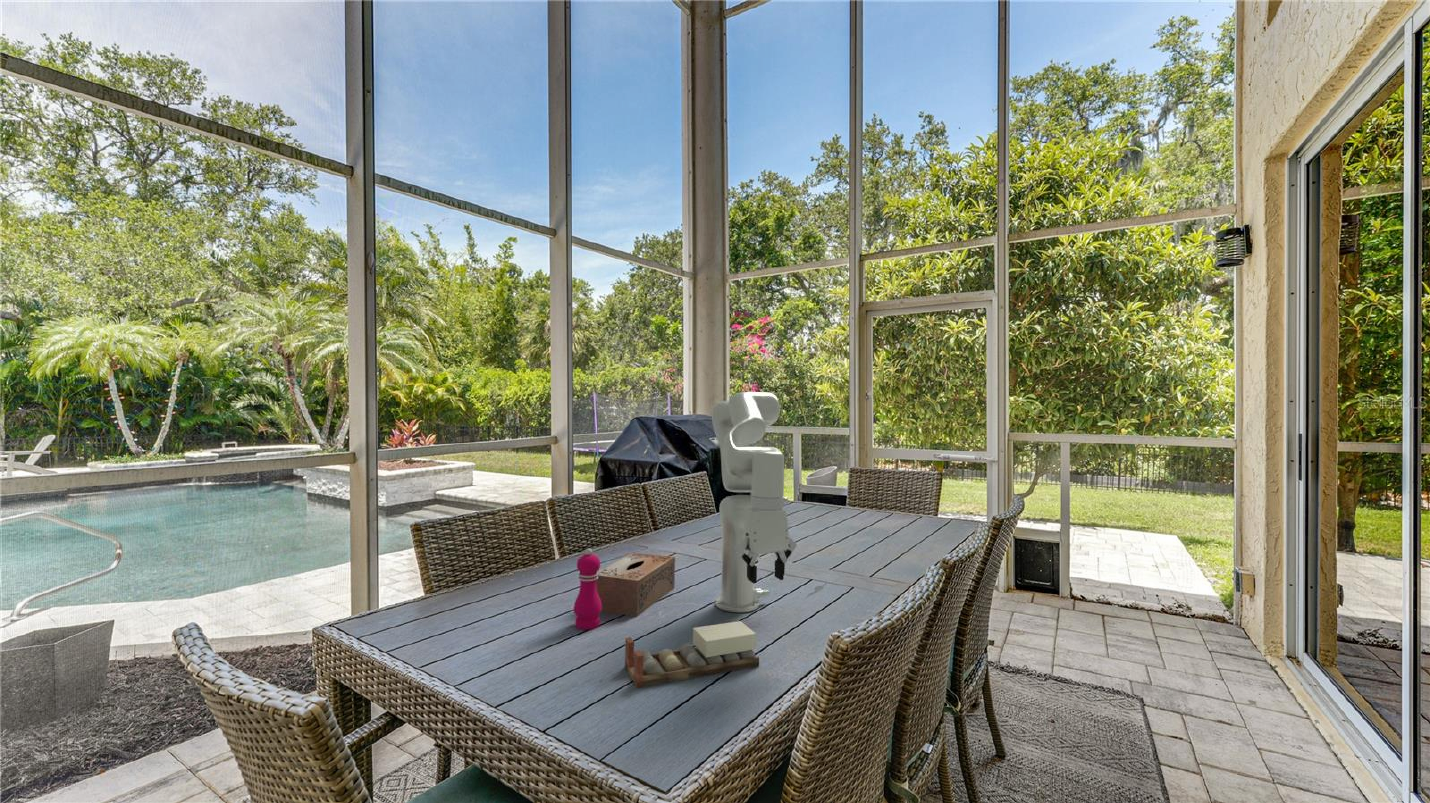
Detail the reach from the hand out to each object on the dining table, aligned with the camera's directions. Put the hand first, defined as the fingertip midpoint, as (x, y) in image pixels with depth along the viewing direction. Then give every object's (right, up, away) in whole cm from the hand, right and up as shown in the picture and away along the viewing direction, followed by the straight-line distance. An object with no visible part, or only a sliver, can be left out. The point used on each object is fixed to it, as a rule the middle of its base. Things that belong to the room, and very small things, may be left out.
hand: (765, 579), depth 140 cm
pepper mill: (-45, -17, +16) cm, 51 cm away
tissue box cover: (-36, -17, +37) cm, 54 cm away
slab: (-10, -14, -4) cm, 18 cm away
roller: (-22, -16, -9) cm, 28 cm away
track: (-17, -17, -7) cm, 25 cm away
